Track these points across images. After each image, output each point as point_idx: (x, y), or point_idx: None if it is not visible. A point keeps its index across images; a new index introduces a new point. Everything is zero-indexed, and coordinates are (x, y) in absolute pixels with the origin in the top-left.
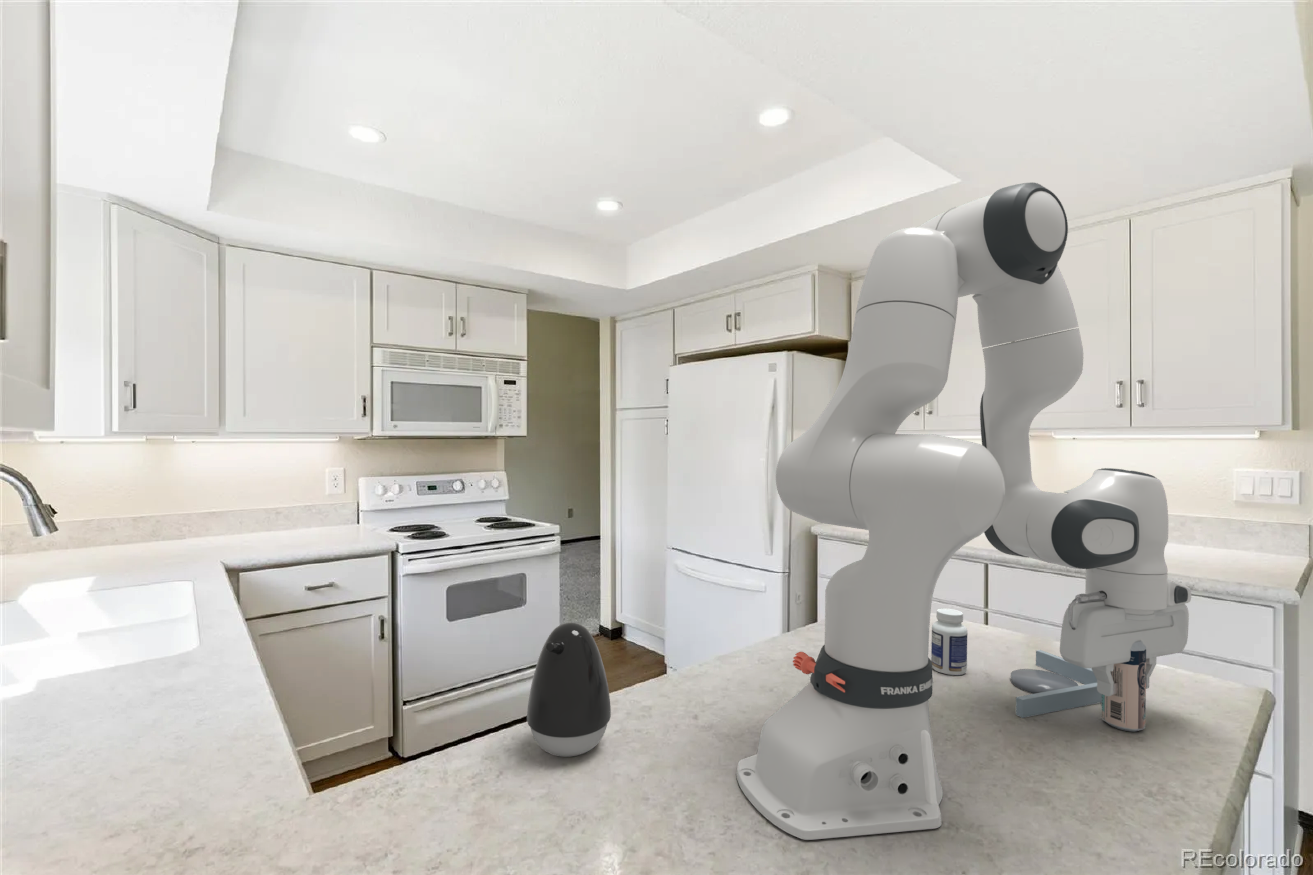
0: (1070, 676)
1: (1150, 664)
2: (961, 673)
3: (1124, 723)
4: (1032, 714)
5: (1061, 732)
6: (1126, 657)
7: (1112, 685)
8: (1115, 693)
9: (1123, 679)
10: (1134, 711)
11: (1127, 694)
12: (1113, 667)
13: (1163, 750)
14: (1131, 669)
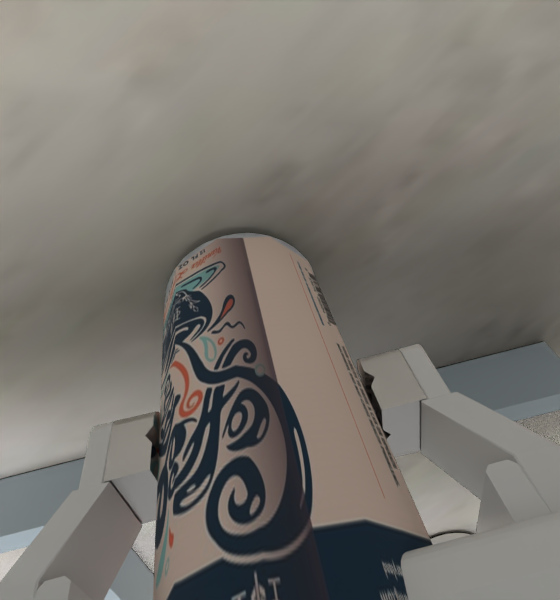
0: (134, 559)
1: (60, 578)
2: (442, 539)
3: (296, 261)
4: (500, 356)
5: (529, 250)
6: (470, 591)
7: (429, 388)
8: (382, 357)
9: (365, 425)
10: (277, 281)
11: (323, 348)
12: (499, 492)
13: (265, 69)
14: (364, 485)
